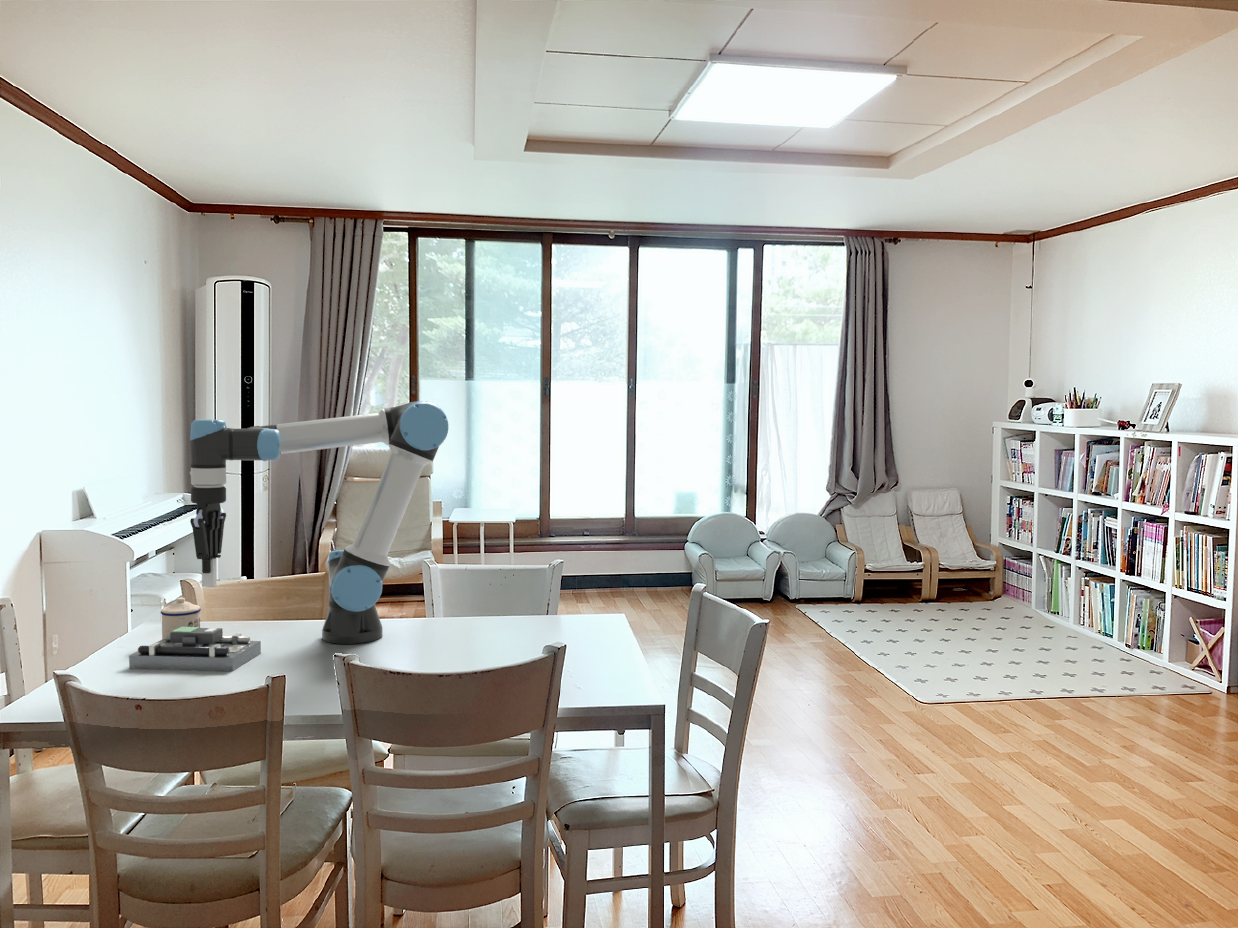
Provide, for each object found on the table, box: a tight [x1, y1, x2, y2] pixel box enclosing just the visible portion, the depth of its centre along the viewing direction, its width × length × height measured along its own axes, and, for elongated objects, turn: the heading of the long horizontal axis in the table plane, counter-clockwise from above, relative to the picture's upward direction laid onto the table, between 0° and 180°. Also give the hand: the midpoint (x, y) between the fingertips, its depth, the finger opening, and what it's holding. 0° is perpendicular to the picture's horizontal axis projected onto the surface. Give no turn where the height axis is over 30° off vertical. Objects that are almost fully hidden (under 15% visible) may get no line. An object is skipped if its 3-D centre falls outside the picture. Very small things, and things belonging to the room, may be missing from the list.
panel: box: [128, 633, 262, 672], centre depth 220 cm, size 24×15×6 cm, turn 88°
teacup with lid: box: [160, 597, 202, 640], centre depth 235 cm, size 12×9×12 cm
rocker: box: [170, 626, 224, 644], centre depth 219 cm, size 10×5×3 cm, turn 88°
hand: (209, 586), depth 218 cm, fingers closed
